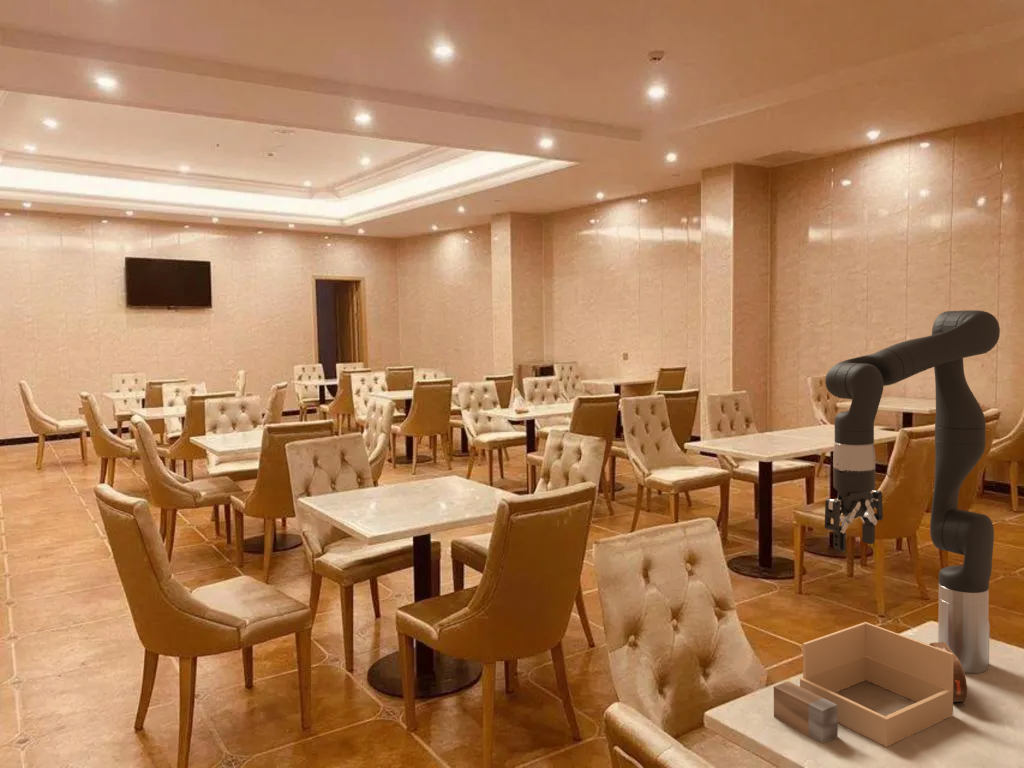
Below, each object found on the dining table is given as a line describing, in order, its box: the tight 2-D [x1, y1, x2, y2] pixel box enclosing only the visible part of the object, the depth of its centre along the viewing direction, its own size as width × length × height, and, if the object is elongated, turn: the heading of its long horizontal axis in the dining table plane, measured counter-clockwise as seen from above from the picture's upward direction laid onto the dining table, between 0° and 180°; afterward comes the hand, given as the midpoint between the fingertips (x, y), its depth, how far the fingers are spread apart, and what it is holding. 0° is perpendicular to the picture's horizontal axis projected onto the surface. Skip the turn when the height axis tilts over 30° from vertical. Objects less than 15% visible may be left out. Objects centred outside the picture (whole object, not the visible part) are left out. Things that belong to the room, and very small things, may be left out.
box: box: [773, 680, 839, 744], centre depth 144 cm, size 4×11×6 cm, turn 30°
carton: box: [799, 621, 954, 748], centre depth 149 cm, size 20×19×12 cm
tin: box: [928, 641, 968, 703], centre depth 155 cm, size 15×3×8 cm, turn 168°
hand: (854, 546), depth 153 cm, fingers open, 8 cm apart
